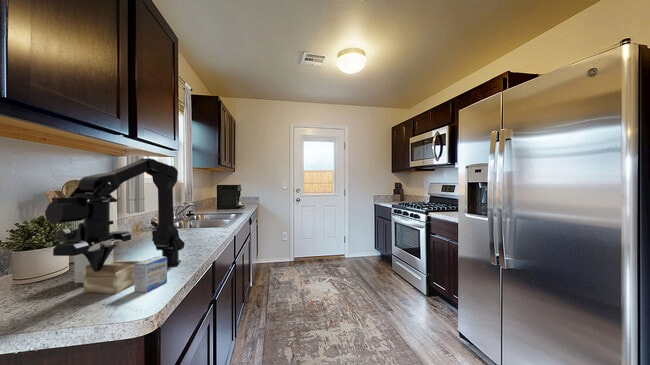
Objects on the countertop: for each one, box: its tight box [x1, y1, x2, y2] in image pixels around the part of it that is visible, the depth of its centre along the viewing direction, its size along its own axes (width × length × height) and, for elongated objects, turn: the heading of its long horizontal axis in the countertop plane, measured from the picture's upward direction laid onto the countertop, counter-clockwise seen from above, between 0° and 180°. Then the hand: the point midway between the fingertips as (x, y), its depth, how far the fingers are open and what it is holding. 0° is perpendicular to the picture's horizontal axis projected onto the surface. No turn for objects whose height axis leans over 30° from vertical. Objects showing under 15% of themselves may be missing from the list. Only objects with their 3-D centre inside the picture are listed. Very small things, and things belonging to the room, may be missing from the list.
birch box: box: [83, 260, 142, 295], centre depth 80 cm, size 11×10×6 cm
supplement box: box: [74, 241, 114, 284], centre depth 86 cm, size 7×7×13 cm
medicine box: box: [134, 255, 168, 293], centre depth 79 cm, size 8×4×9 cm, turn 168°
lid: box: [86, 263, 136, 276], centre depth 79 cm, size 10×9×3 cm
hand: (96, 271), depth 73 cm, fingers closed
